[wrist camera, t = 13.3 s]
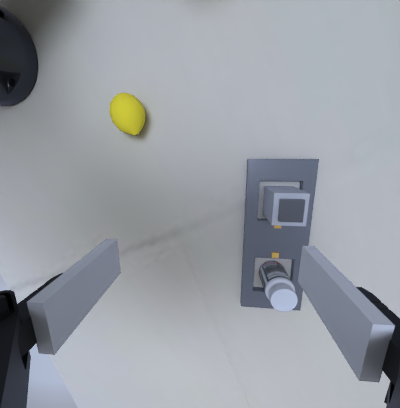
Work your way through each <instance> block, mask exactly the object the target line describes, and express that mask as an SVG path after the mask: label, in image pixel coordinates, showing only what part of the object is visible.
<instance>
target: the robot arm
mask: <svg viewBox="0 0 400 408" xmlns="http://www.w3.org/2000/svg"><path fill="white" fill-rule="evenodd" d="M36 76H37V55H36V51H35V47H34V44H33V41H32V39H31V37H30V35H29V33H28V32H27V30H26V29H25V27H24V26H23V25H22V23H21V22H20V21H19V20H18V19H17V18H16V17H14V16H13V15H12V14H10V13H9V12H7V11H6V10H4V9H3V8H1V7H0V105H1V106H9V105H14V104H17V103H19V102H20V101H22V100H23V99H24V98H26V97H27V95H28V94H29V93H30V91H31V90H32V88H33V86H34V83H35V80H36ZM120 273H121V271H120V262H119V252H118V243H117V239H106V240H105V241H104V242H102V243H101V244H100V245H99V246H97V247H96V248H95V249H94V250H92V251H91V252H90V253H88V254H87V255H86V256H85V257H83V258H82V259H81V260H80V261H78V262H77V263H76V264H74V265H73V266H72V267H71V268H69V269H68V270H67V271H66V272H64V273H61V274H59V275H57V276H55V277H53V278H51V279H50V280H49V281H47V282H46V283H45V284H44V285H42V286H41V287H39V288H38V290H36V291H34V292H33V293H32V294H30V295H29V296H28V297H26V298H25V299H24V300H22V301H21V302H20V303H18V304H17V301H16V298H15V294H14V292H13V291H11V290H5V291H0V408H26V405H27V393H28V382H29V369H30V359H31V356H30V352H29V350H30V349H31V348H32V347H33V346H34V345H35V344H36V343H37V347H38V352H39V353H41V354H53V355H55V353H56V352H57V351H58V350H59V349H60V347H61V346H62V345H63V344H64V342H65V341H66V340H67V339H68V337H69V336H70V335H71V334H72V332H73V331H74V330H75V329H76V327H77V326H78V325H79V324H80V322H81V321H82V320H83V319H84V317H85V316H86V315H87V314H88V312H89V311H90V310H91V309H92V308H93V306H94V305H95V304H96V303H97V301H98V300H99V299H100V298H101V296H102V295H103V294H104V293H105V291H106V290H107V289H108V288H109V286H110V285H111V284H112V283H113V281H114V280H115V279H116V278H117V276H118V275H119V274H120ZM298 282H299V284H300V285H301V287H302V289H303V290H304V292H305V294H306V295H307V297H308V298H309V300H310V302H311V303H312V305H313V307H314V308H315V310H316V311H317V313H318V315H319V316H320V318H321V320H322V321H323V323H324V324H325V326H326V328H327V329H328V331H329V333H330V334H331V336H332V337H333V339H334V341H335V342H336V344H337V346H338V347H339V349H340V350H341V352H342V354H343V355H344V357H345V359H346V360H347V362H348V363H349V365H350V367H351V368H352V370H353V372H354V373H355V375H356V376H357V378H358V380H359V381H370V382H379V381H380V378H381V374H382V371H384V373H385V374H386V375H387V377H388V378H389V379H390V384H389V388H388V391H387V395H386V398H385V401H384V402H385V403H386V404H387V407H386V408H400V318H398V317H397V316H396V315H395V314H394V313H393V312H392V311H391V310H389V309H388V307H386V306H385V305H384V304H383V303H381V301H380V300H379V299H378V298H377V297H376V296H375V295H373V294H372V293H370V292H369V291H367V290H365V289H364V288H362V287H355V286H354V285H353V284H352V283H351V282H350V281H349V280H348V279H347V278H346V277H345V276H344V275H343V274H342V273H341V272H340V271H339V270H338V269H337V268H336V267H335V266H334V265H333V264H332V263H331V262H330V261H329V260H328V259H327V258H326V257H325V256H324V255H323V254H322V253H321V252H320V251H319V250H318V249H317V248H316V247H315V246H302V254H301V261H300V269H299V277H298Z"/></svg>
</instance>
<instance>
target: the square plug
mask: <svg viewBox="0 0 400 408" xmlns="http://www.w3.org/2000/svg"><path fill="white" fill-rule="evenodd" d="M309 197H310V193H307V192H305V191H303V190H300V189H298V188H295V187H289V186H265V187H264V201H263V214H264V215H265V217H266V218H267V219H268V221H269V222H270V224H271V225H279V226H306V222H307V214H308V205H309Z"/></svg>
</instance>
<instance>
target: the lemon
mask: <svg viewBox="0 0 400 408" xmlns="http://www.w3.org/2000/svg"><path fill="white" fill-rule="evenodd" d="M110 115H111V118H112V121H113V123H114V124H115V125H116V127H117V128H118V129H119V130H120V131H123V132H124V133H127V134H131V135H135V136H136V135H138V134H139V132H140V131H141V130H142V128H143V126H144V123H145V110H144V108H143V106H142V104H141V103H140V101H139V100H137V99H136V98H135V97H134V96H133V95H130V94H128V93H120V94H117V95H116V96H115V97H114V98H113V100H112V101H111V103H110Z"/></svg>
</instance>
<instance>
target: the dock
mask: <svg viewBox="0 0 400 408" xmlns="http://www.w3.org/2000/svg"><path fill="white" fill-rule="evenodd" d="M318 162H319V159H248V164H247V184H246V205H245V225H244V246H243V266H242V286H241V306H246V307H259V308H273V309H275V308H274V307H273V306H272V305H271V302H270V300H269V299H268V298H267V296H266V294H265V291H264V288H257V287H253V279H254V263H255V257H260V258H281V259H292V266H291V276H290V280H291V281H292V283H293V285H294V287H295V293H296V295H297V299H298V302H297V305H296V306H295V308H293V309H292V310H300V308H301V300H302V292H303V289H302V287H301V285H300V284H299V282H298V277H299V269H300V261H301V254H302V246H308V243H309V235H310V227H311V219H312V211H313V203H314V195H315V187H316V179H317V170H318ZM260 181H301V182H300V190H303V191H305V192H307V193H310V197H309V205H308V214H307V222H306V226H279V225H271V224H270V222H269V221H268V219H257V215H258V199H259V183H260Z"/></svg>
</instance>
